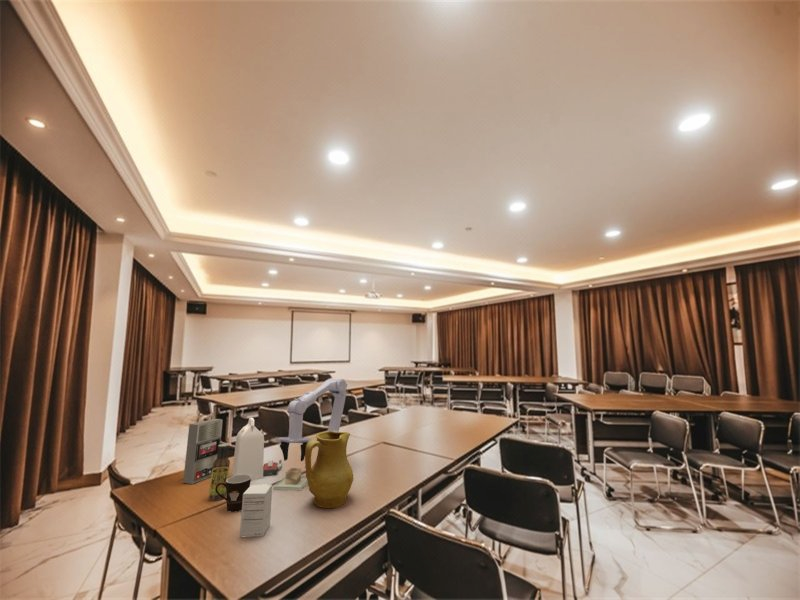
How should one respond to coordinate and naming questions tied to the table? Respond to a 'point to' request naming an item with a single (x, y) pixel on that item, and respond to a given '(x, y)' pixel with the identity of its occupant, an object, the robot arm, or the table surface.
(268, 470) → the walkie-talkie
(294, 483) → the beech cube
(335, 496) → the pitcher
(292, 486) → the sage tile
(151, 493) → the table surface
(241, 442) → the milk
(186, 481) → the cassette tape recorder
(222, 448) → the sauce bottle
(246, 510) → the supplement box
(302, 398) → the robot arm
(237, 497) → the coffee mug
